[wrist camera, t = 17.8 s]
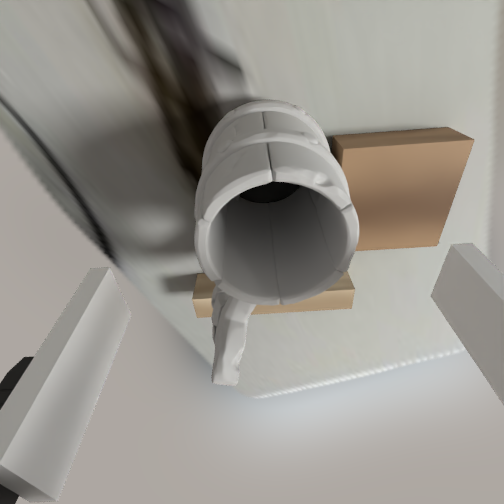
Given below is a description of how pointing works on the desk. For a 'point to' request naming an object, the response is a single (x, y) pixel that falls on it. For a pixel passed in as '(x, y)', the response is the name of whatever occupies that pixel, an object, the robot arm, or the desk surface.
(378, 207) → the slab
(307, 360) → the desk surface
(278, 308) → the rail
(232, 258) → the mug
